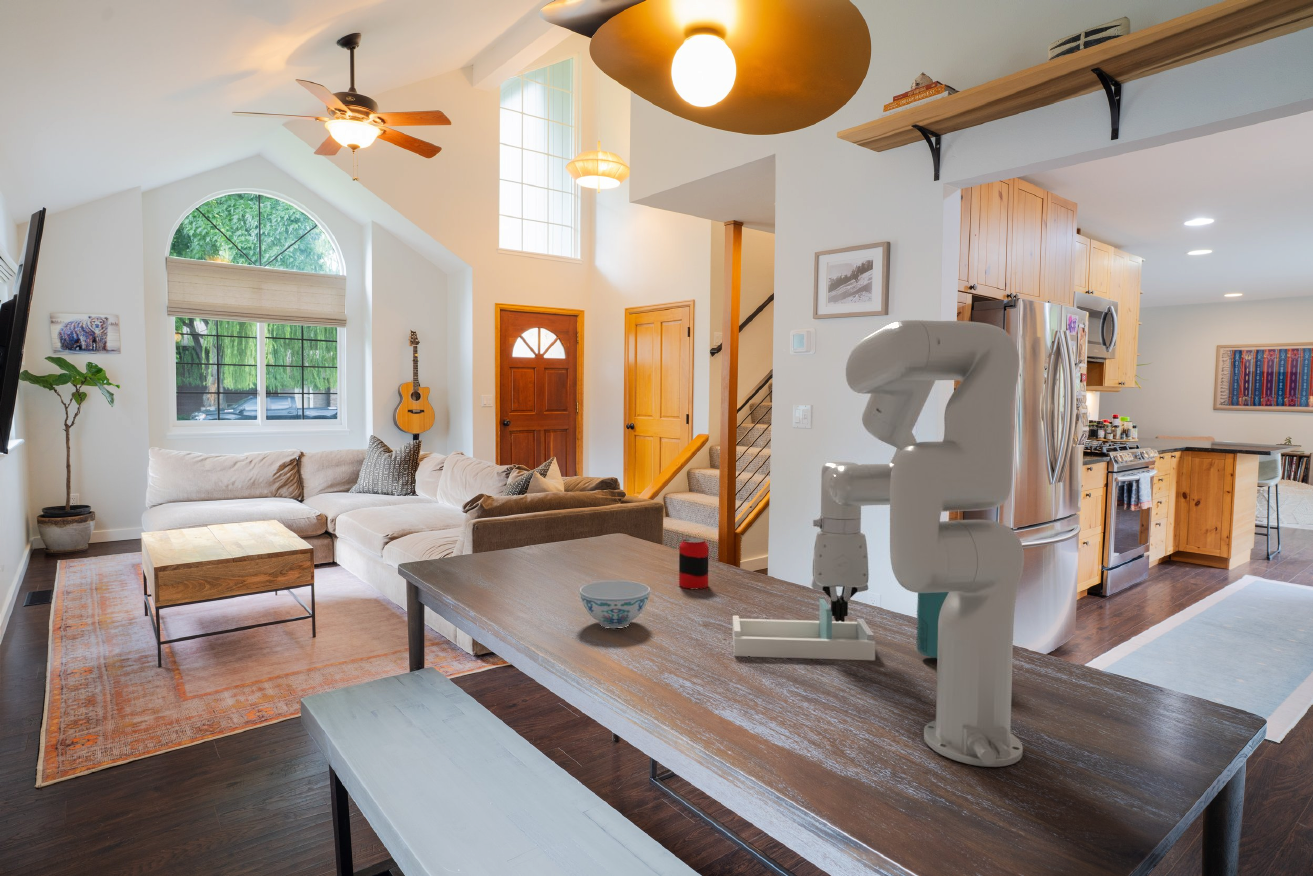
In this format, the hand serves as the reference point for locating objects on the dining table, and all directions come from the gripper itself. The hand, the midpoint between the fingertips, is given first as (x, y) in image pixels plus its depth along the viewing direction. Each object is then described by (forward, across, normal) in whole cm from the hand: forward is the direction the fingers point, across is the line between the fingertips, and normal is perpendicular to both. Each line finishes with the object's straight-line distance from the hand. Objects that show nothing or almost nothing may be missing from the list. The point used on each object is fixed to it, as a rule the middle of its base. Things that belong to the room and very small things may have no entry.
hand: (839, 619), depth 140 cm
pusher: (+5, -3, 0) cm, 6 cm away
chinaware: (+6, -46, +11) cm, 47 cm away
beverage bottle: (+6, +17, -5) cm, 18 cm away
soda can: (+6, -30, +45) cm, 54 cm away
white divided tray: (+6, -7, 0) cm, 9 cm away
